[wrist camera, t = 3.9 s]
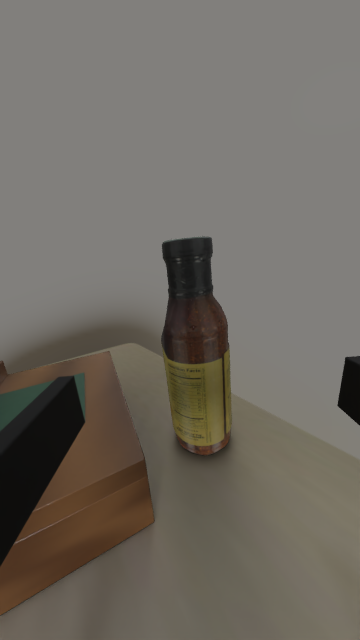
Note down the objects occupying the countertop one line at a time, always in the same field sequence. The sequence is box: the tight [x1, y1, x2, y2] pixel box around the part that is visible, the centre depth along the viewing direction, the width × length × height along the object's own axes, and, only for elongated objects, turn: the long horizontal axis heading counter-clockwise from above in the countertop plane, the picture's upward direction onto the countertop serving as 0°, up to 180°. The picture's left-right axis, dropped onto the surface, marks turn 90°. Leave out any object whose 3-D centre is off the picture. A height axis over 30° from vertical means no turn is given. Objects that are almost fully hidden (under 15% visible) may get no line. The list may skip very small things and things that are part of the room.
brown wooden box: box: [0, 351, 154, 615], centre depth 20 cm, size 14×20×8 cm
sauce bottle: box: [161, 237, 232, 456], centre depth 19 cm, size 7×6×20 cm
